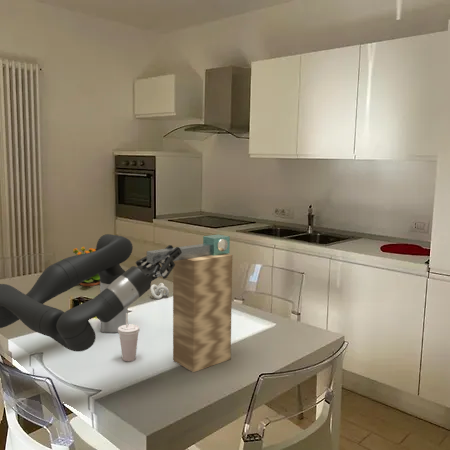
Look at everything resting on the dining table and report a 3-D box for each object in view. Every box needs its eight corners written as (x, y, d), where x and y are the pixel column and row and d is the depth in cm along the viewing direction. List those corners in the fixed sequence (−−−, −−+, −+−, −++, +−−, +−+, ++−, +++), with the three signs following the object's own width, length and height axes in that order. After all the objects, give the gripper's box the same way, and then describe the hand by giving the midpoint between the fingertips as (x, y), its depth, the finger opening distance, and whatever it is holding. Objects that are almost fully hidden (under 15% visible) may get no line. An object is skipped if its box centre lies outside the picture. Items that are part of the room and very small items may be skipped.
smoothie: (119, 354, 145) (119, 310, 143) (140, 354, 146) (140, 310, 144) (116, 363, 139) (116, 317, 137) (138, 363, 140) (138, 317, 138)
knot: (171, 295, 209) (171, 282, 208) (166, 300, 201) (166, 287, 200) (155, 294, 210) (155, 281, 209) (149, 299, 202) (148, 286, 201)
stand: (193, 372, 134) (194, 261, 130) (173, 360, 142) (173, 255, 137) (230, 359, 143) (232, 255, 139) (209, 348, 151) (210, 249, 146)
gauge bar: (155, 265, 124) (155, 246, 123) (144, 261, 128) (144, 243, 127) (230, 253, 141) (230, 236, 140) (218, 250, 145) (218, 234, 144)
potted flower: (106, 291, 212) (105, 253, 210) (53, 290, 213) (52, 252, 210) (119, 278, 237) (119, 243, 235) (72, 277, 237) (71, 242, 235)
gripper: (135, 282, 116) (185, 241, 124) (108, 271, 126) (156, 234, 135) (149, 305, 119) (196, 263, 128) (121, 292, 130) (167, 255, 138)
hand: (175, 248), depth 131 cm, fingers closed on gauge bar, 3 cm apart
